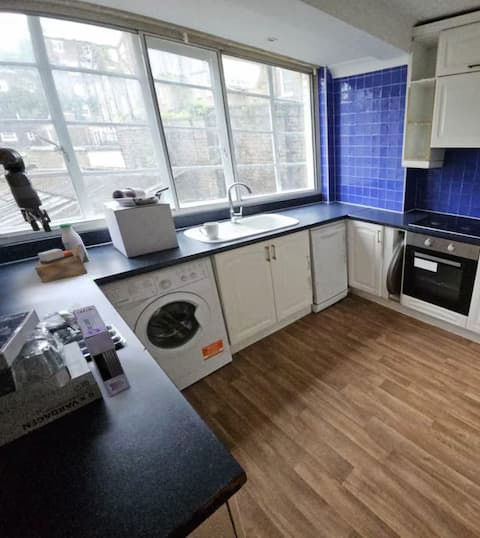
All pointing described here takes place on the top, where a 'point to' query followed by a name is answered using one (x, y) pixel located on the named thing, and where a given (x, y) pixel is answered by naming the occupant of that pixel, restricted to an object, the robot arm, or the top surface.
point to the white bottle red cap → (54, 256)
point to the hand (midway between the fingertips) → (43, 231)
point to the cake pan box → (101, 349)
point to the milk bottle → (70, 238)
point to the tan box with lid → (64, 266)
